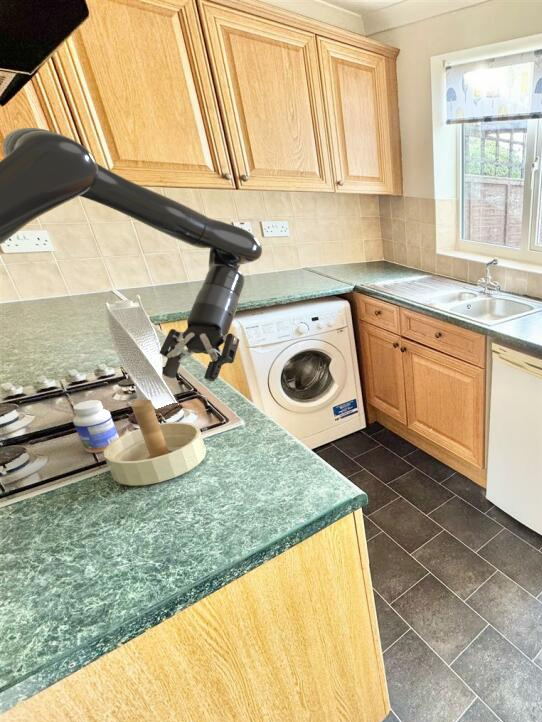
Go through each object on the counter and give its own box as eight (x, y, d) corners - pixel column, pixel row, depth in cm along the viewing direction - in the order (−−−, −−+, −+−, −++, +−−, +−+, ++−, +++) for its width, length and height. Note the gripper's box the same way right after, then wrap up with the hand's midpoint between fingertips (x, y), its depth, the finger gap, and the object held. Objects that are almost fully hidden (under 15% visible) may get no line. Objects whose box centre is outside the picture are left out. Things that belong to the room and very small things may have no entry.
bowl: (93, 489, 74) (82, 464, 72) (146, 445, 87) (138, 422, 85) (181, 486, 76) (172, 461, 74) (220, 443, 89) (214, 421, 87)
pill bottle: (82, 447, 85) (63, 405, 81) (116, 436, 89) (99, 395, 85) (90, 456, 82) (71, 413, 78) (125, 445, 87) (108, 403, 82)
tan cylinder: (142, 468, 79) (119, 408, 74) (157, 455, 83) (136, 397, 78) (167, 468, 80) (146, 408, 74) (181, 455, 84) (162, 397, 78)
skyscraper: (188, 404, 103) (154, 291, 91) (165, 419, 96) (125, 299, 84) (156, 402, 103) (118, 289, 91) (130, 417, 96) (85, 297, 84)
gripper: (169, 298, 89) (140, 369, 83) (235, 303, 88) (210, 374, 83) (194, 316, 96) (169, 382, 90) (255, 320, 95) (233, 387, 90)
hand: (188, 378), depth 86 cm, fingers open, 8 cm apart
